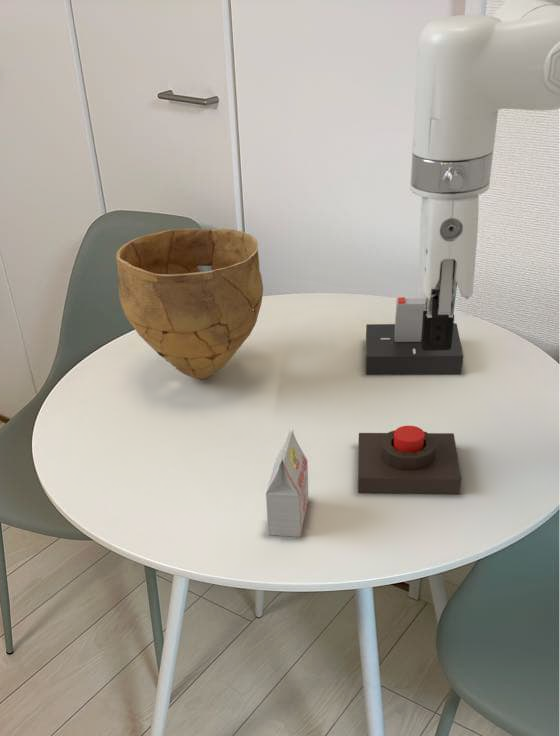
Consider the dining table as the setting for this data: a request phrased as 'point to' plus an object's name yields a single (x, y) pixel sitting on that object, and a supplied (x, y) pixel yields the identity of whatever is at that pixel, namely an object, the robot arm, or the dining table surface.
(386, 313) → the dining table surface
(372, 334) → the black flat block
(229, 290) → the bowl
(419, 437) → the power button
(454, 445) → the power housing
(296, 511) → the milk carton
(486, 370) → the dining table surface
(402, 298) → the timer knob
